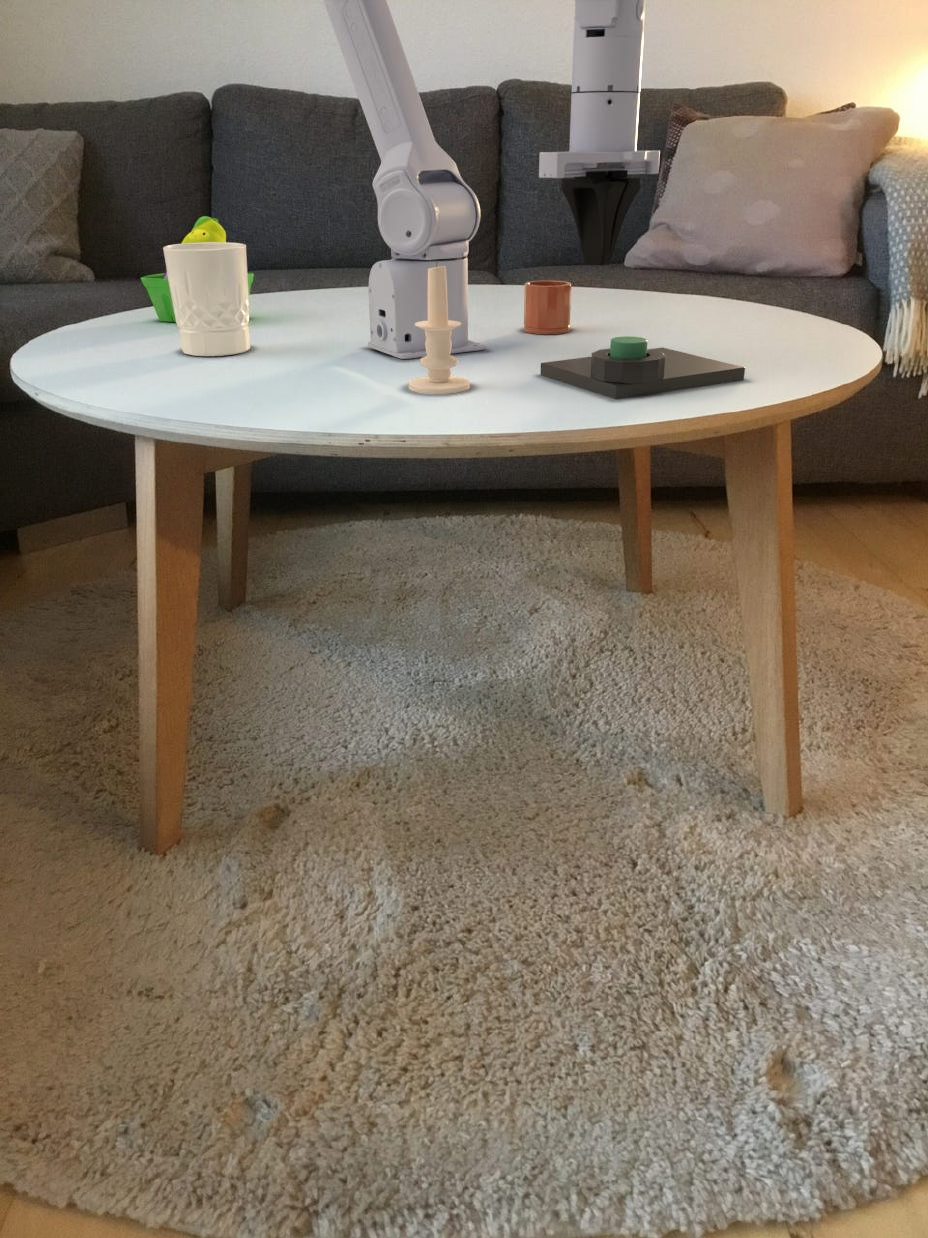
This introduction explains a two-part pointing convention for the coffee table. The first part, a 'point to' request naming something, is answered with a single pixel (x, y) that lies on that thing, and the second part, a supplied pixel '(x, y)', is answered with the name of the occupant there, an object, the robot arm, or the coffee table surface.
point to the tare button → (628, 347)
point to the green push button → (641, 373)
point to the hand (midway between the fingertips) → (596, 264)
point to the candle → (438, 341)
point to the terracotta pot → (547, 307)
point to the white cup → (210, 296)
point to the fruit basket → (159, 283)
